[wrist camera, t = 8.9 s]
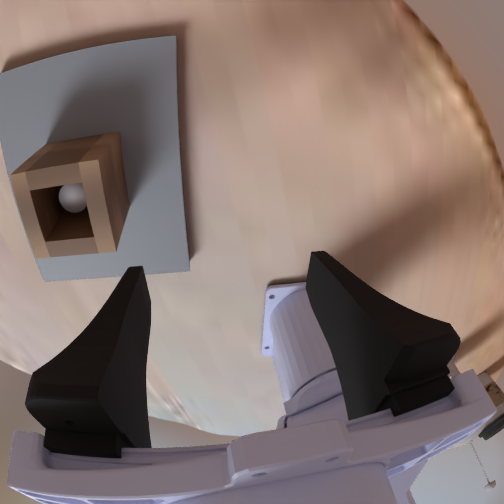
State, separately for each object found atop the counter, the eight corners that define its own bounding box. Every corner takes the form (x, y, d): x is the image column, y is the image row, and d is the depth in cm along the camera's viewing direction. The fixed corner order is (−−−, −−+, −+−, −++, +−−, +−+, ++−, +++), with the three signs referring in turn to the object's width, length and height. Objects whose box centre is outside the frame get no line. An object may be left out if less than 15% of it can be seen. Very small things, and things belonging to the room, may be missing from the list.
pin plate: (189, 261, 24) (191, 299, 21) (48, 272, 23) (33, 308, 19) (176, 36, 15) (172, 32, 12) (0, 74, 13) (-35, 85, 10)
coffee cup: (499, 360, 56) (528, 406, 44) (477, 387, 63) (501, 430, 51) (471, 374, 55) (500, 426, 43) (448, 401, 61) (472, 449, 49)
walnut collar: (129, 206, 20) (116, 252, 16) (61, 214, 19) (35, 258, 15) (119, 131, 17) (98, 159, 13) (45, 144, 16) (9, 175, 12)
